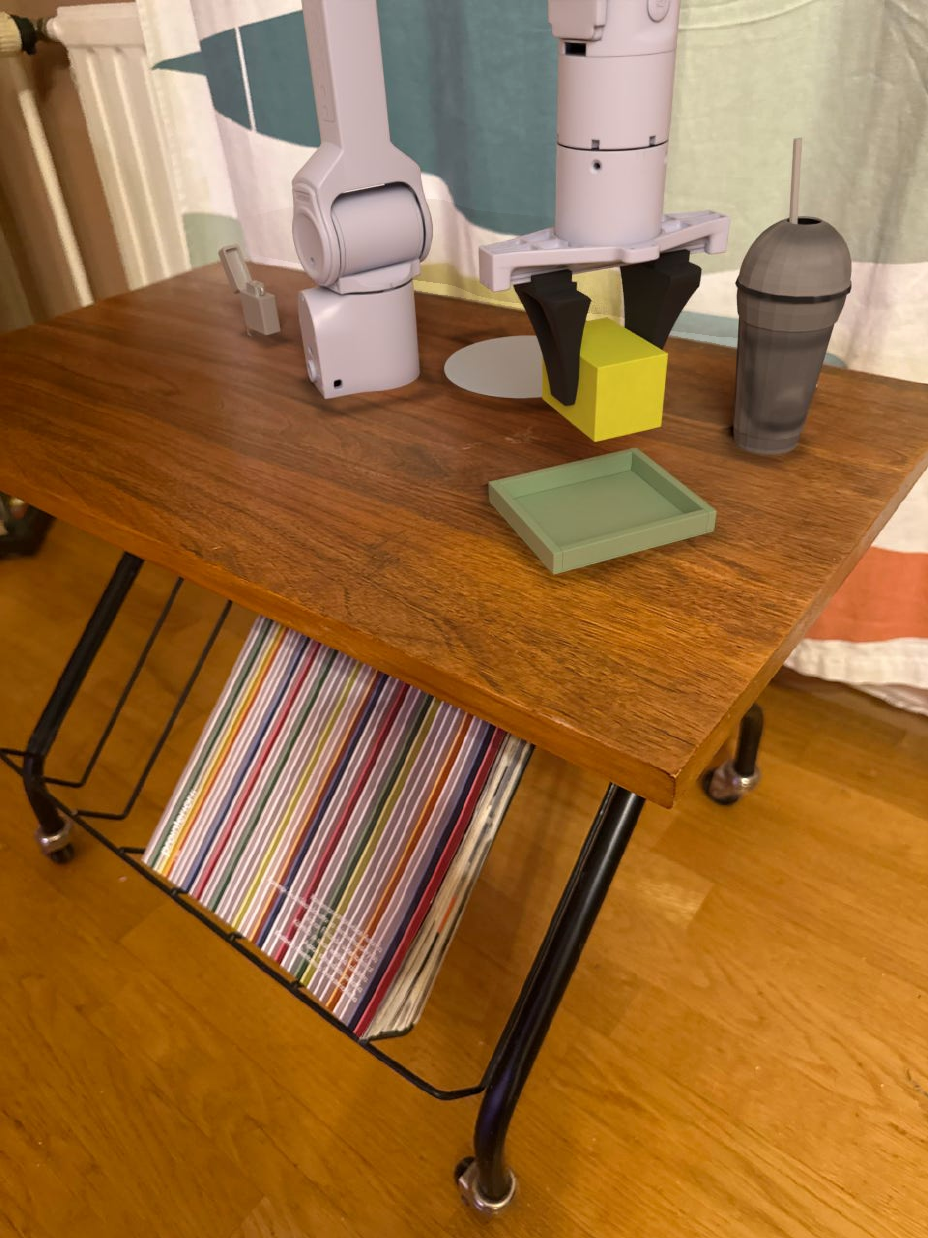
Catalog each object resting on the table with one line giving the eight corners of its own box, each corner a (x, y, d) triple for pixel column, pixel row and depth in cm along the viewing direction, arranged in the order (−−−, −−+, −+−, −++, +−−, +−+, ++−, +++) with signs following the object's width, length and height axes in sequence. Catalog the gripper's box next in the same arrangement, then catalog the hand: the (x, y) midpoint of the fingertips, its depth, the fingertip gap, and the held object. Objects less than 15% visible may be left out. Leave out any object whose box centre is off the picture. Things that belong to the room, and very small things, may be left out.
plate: (481, 422, 71) (481, 410, 70) (421, 362, 81) (421, 351, 81) (636, 388, 75) (637, 377, 74) (560, 336, 85) (560, 325, 85)
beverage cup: (800, 476, 62) (867, 154, 50) (698, 454, 65) (738, 146, 53) (828, 434, 67) (895, 131, 54) (732, 415, 70) (775, 125, 58)
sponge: (594, 442, 52) (597, 367, 49) (541, 398, 57) (542, 328, 55) (661, 427, 53) (668, 353, 51) (603, 385, 58) (607, 316, 56)
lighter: (283, 340, 87) (269, 254, 83) (267, 344, 87) (252, 258, 82) (247, 323, 92) (232, 240, 87) (232, 327, 91) (216, 244, 86)
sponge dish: (553, 579, 53) (553, 554, 52) (488, 505, 61) (488, 481, 59) (713, 535, 56) (717, 510, 55) (634, 469, 64) (636, 446, 62)
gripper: (516, 171, 41) (518, 442, 49) (778, 135, 45) (740, 392, 53) (459, 147, 47) (469, 395, 55) (698, 117, 50) (675, 353, 59)
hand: (599, 391), depth 54 cm, fingers closed on sponge, 4 cm apart
